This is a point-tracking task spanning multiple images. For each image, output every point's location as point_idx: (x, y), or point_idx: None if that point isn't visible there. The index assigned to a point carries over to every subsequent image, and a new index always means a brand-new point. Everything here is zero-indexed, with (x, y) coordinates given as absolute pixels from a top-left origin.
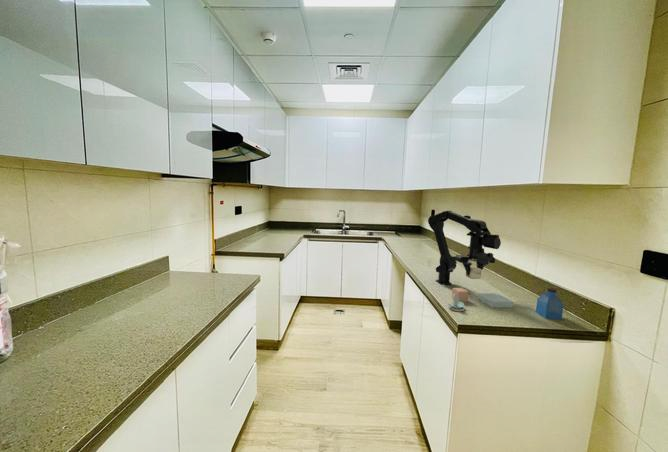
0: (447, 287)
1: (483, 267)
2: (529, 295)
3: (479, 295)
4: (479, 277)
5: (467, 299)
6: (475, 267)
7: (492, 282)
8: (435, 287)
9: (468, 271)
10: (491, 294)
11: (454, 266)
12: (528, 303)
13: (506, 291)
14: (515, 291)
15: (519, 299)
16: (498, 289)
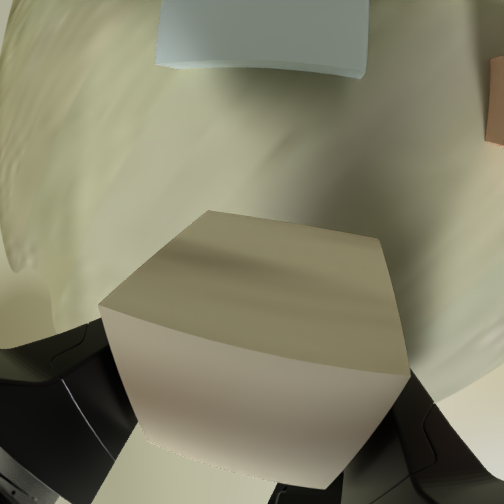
0: (412, 341)
1: (37, 341)
2: (4, 138)
3: (366, 52)
4: (222, 222)
5: (501, 57)
6: (174, 428)
7: (66, 320)
8: (484, 349)
9: (412, 372)
10: (235, 31)
11: (308, 499)
12: (63, 17)
13: (52, 197)
14: (23, 193)
15: (60, 69)
16: (73, 232)
